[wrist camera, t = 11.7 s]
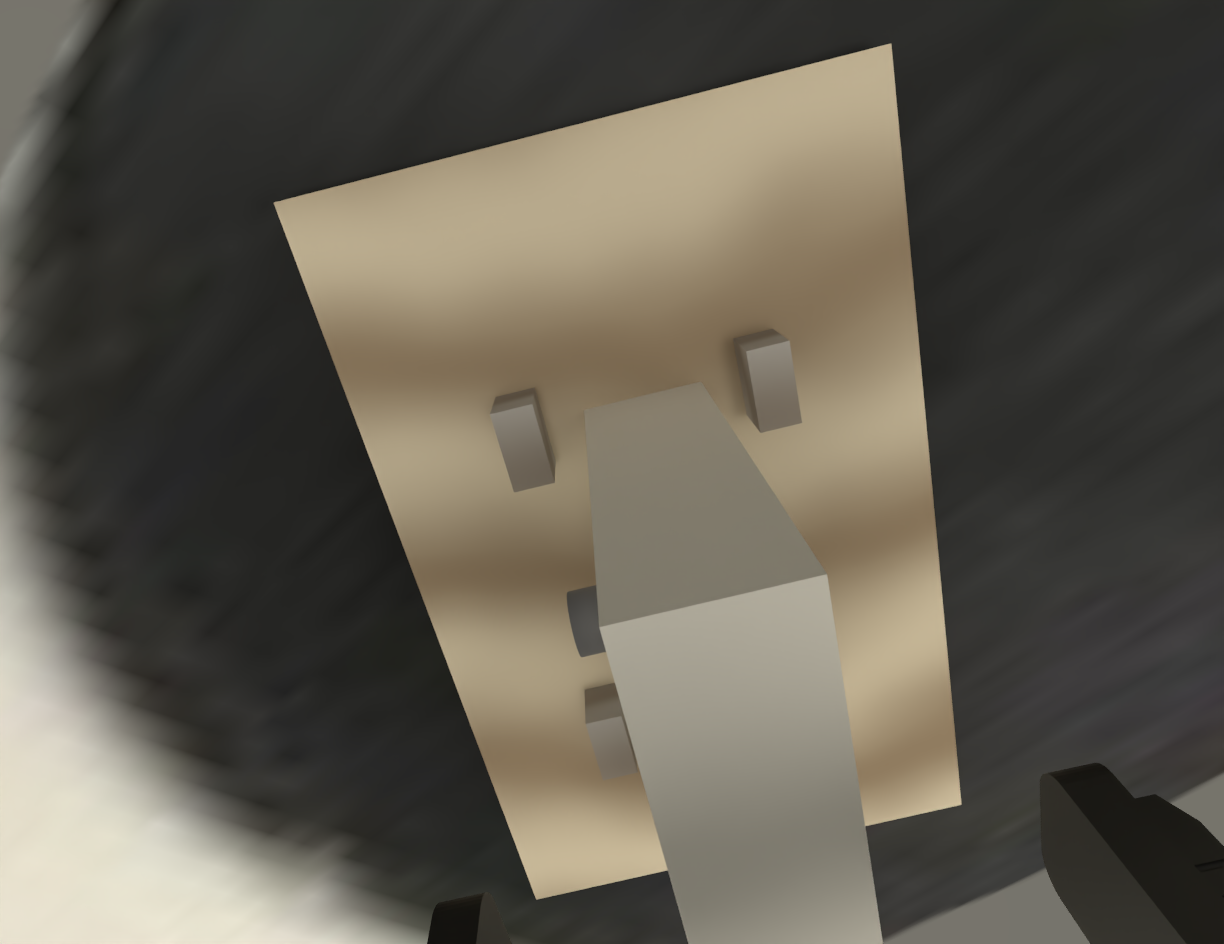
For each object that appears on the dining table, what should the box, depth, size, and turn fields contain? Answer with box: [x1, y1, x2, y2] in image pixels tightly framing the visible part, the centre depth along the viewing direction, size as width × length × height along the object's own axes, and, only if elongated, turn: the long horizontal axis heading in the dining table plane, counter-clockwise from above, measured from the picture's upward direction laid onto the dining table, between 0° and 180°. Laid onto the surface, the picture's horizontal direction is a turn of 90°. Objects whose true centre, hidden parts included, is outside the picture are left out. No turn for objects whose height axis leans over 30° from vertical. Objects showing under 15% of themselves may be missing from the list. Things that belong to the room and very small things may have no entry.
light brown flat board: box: [274, 44, 961, 899], centre depth 21 cm, size 22×14×2 cm, turn 13°
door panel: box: [567, 382, 883, 944], centre depth 17 cm, size 12×4×10 cm, turn 13°
